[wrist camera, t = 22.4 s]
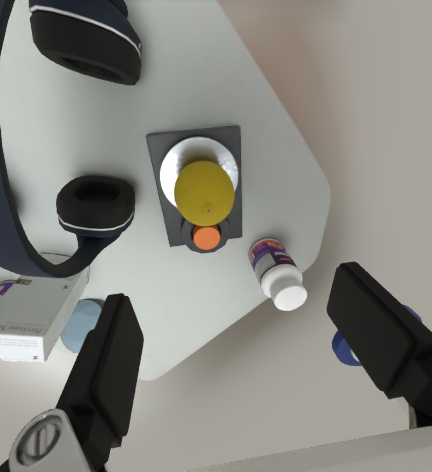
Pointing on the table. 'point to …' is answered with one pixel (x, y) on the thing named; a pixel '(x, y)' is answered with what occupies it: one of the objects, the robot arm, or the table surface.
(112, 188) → the earphone
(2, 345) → the cosmetic box
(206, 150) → the scale pan
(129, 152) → the table surface
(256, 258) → the pill bottle
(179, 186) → the lemon
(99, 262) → the table surface
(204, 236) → the tare button
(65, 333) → the gemstone
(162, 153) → the scale
